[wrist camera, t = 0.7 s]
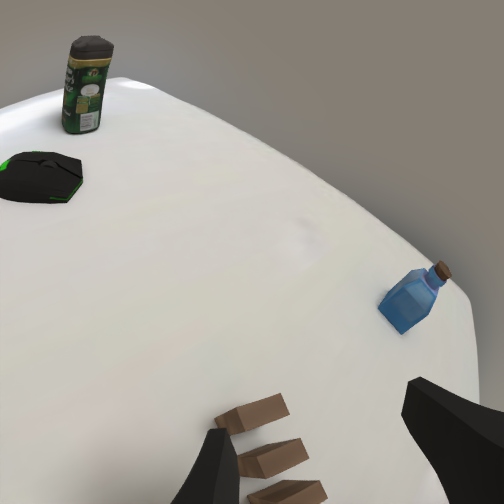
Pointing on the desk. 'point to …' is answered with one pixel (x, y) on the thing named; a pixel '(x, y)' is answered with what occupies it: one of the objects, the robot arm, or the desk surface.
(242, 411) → the domino
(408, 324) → the perfume bottle
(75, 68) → the coffee jar
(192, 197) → the desk surface
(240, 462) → the domino
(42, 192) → the computer mouse
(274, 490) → the domino
